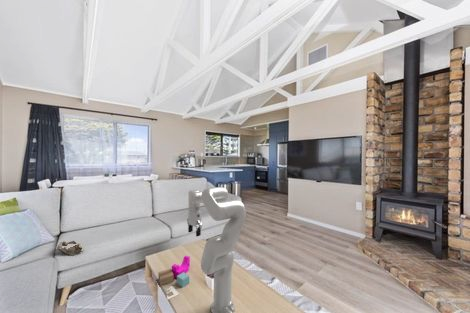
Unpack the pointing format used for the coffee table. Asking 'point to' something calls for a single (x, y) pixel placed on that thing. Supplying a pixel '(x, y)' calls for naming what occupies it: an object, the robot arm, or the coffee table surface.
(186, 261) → the magenta curved piece
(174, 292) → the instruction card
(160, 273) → the base brick
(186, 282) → the teal cube
